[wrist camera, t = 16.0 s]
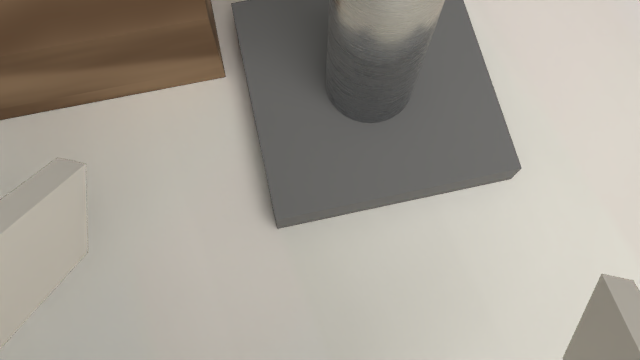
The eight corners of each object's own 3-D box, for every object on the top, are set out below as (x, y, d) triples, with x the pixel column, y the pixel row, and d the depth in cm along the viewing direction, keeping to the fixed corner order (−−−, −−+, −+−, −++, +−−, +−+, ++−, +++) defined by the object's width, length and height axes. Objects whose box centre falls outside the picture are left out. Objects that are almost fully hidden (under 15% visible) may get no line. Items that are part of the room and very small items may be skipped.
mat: (235, 21, 30) (231, 3, 29) (444, -18, 31) (450, -37, 29) (277, 228, 27) (275, 220, 25) (510, 179, 27) (521, 168, 26)
